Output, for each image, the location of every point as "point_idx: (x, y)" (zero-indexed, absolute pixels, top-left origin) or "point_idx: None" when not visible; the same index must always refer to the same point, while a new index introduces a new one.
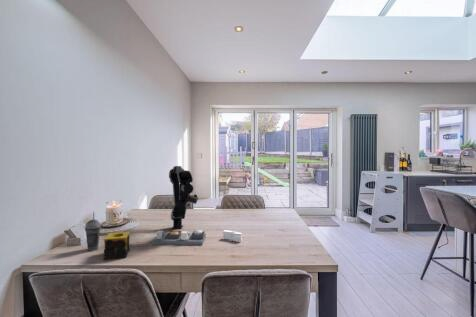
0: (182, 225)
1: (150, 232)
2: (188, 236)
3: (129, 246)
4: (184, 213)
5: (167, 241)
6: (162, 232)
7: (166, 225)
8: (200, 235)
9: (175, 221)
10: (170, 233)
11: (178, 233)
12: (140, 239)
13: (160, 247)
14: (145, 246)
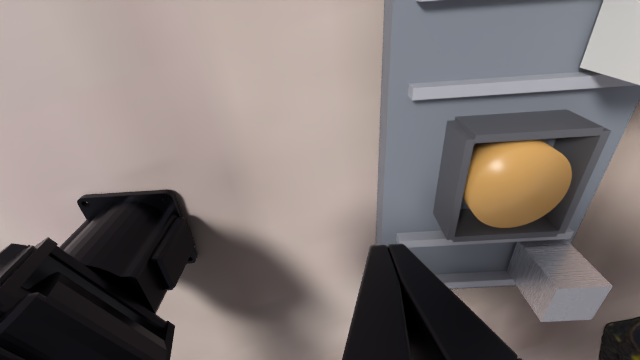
0: (79, 206)
1: (307, 336)
2: (510, 11)
3: (627, 343)
4: (455, 308)
5: (591, 185)
6: (585, 281)
7: None
8: None
9: (158, 287)
10: (538, 216)
11: (531, 143)
12: None
13: (626, 197)
14: None
